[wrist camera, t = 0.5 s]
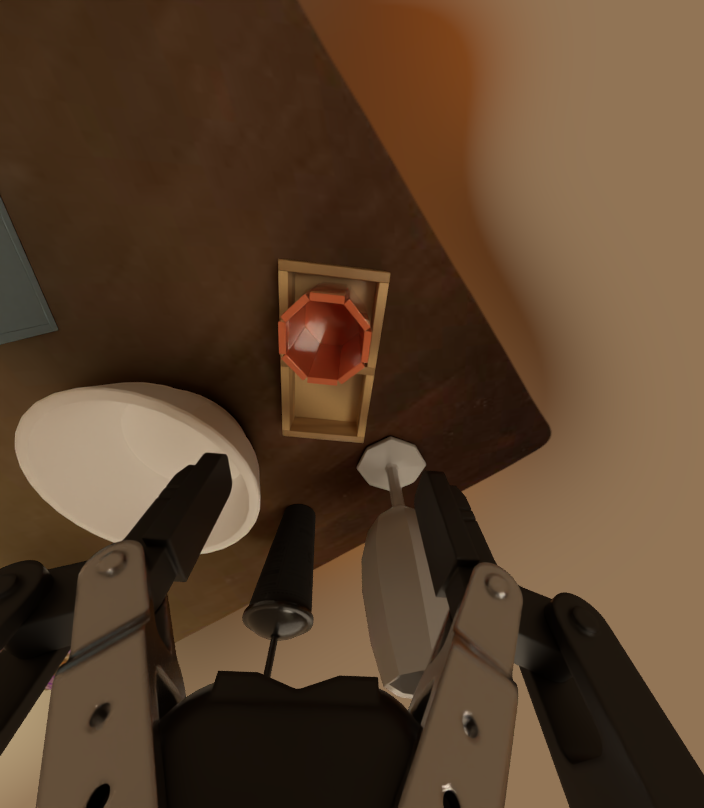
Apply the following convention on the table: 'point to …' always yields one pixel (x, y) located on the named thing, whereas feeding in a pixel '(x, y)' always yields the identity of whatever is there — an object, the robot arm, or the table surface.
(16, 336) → the open box
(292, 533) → the drinking cup
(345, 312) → the cup
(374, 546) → the wineglass
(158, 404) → the bowl
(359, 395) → the rack
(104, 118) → the table surface
